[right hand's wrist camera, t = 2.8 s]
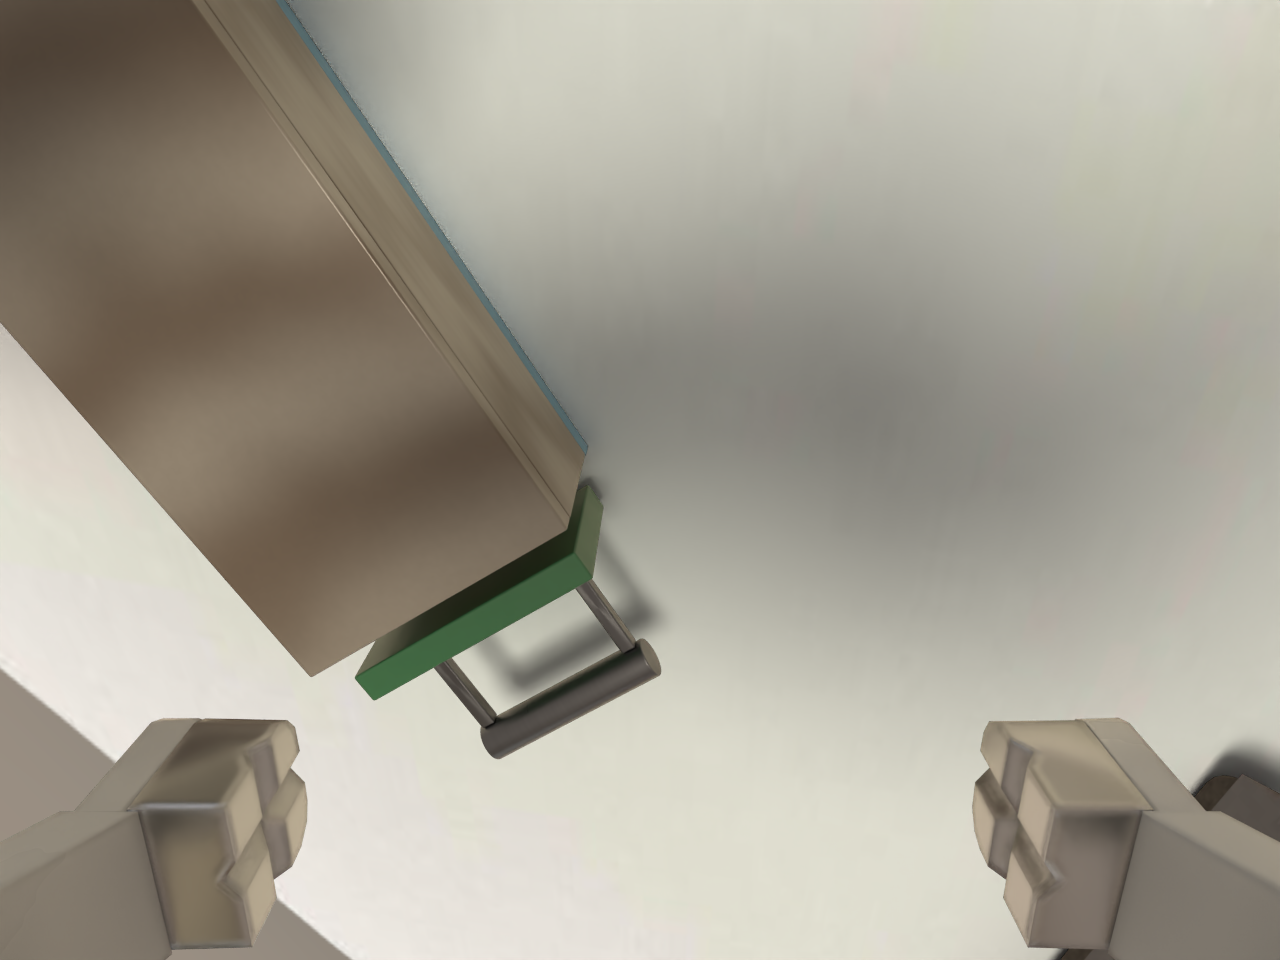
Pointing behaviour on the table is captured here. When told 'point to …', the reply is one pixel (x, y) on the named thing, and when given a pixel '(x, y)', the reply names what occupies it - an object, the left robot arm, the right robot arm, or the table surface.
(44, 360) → the cabinet
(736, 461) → the table surface
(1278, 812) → the toy
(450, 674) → the drawer
